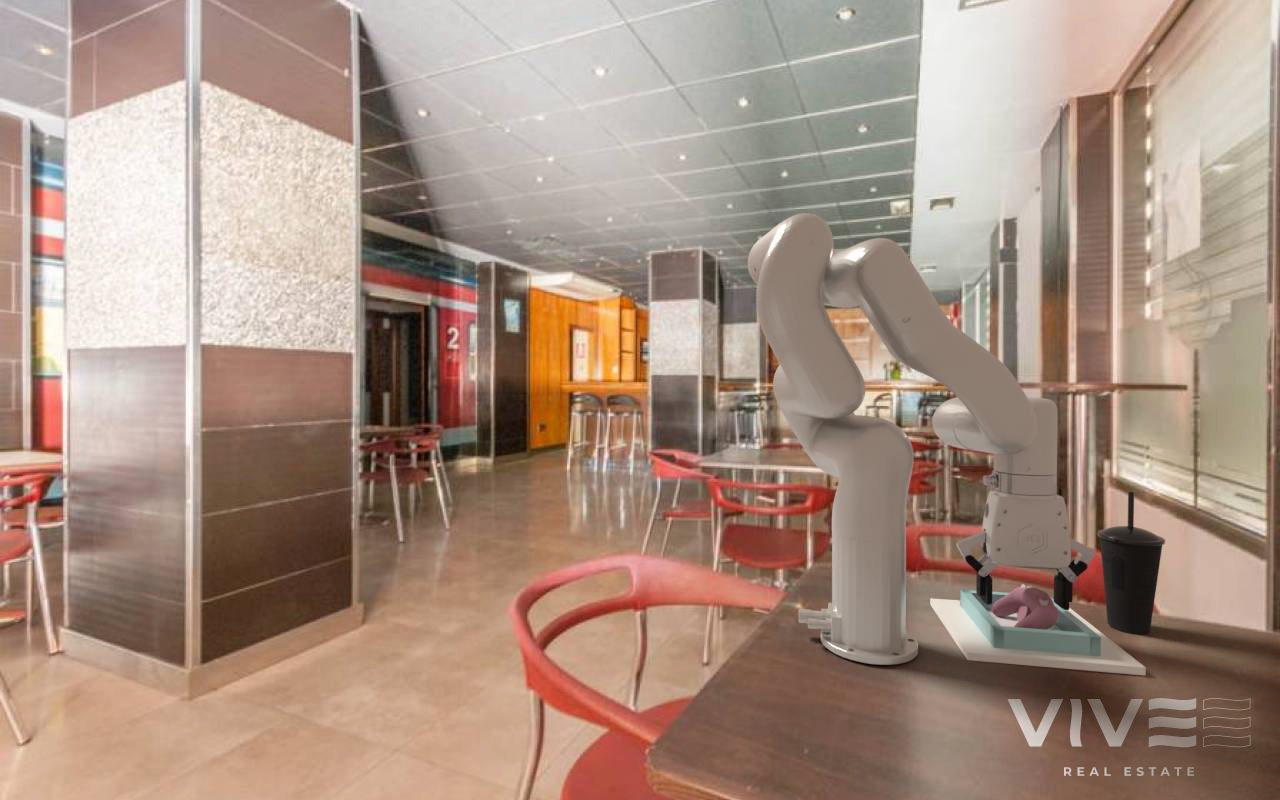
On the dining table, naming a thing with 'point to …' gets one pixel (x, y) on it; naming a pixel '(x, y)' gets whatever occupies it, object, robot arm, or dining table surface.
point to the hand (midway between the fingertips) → (1023, 603)
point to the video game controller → (1028, 608)
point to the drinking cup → (1130, 573)
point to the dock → (1030, 638)
